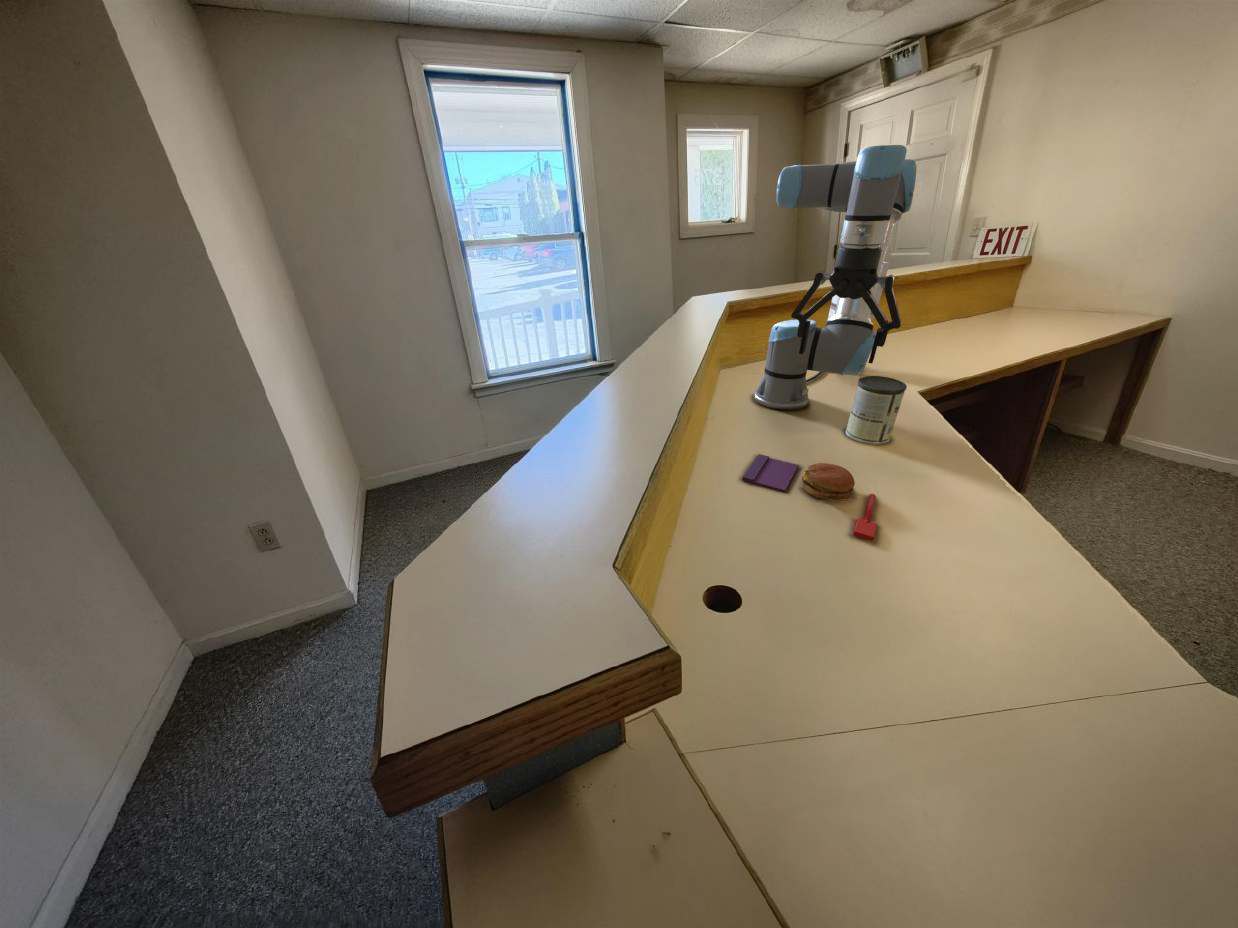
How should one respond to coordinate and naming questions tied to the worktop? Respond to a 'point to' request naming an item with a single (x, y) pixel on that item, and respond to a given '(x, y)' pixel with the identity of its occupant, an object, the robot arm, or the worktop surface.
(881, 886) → the worktop surface
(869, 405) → the coffee can
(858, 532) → the red spatula
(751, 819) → the worktop surface
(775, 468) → the cloth
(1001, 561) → the worktop surface
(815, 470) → the burger
